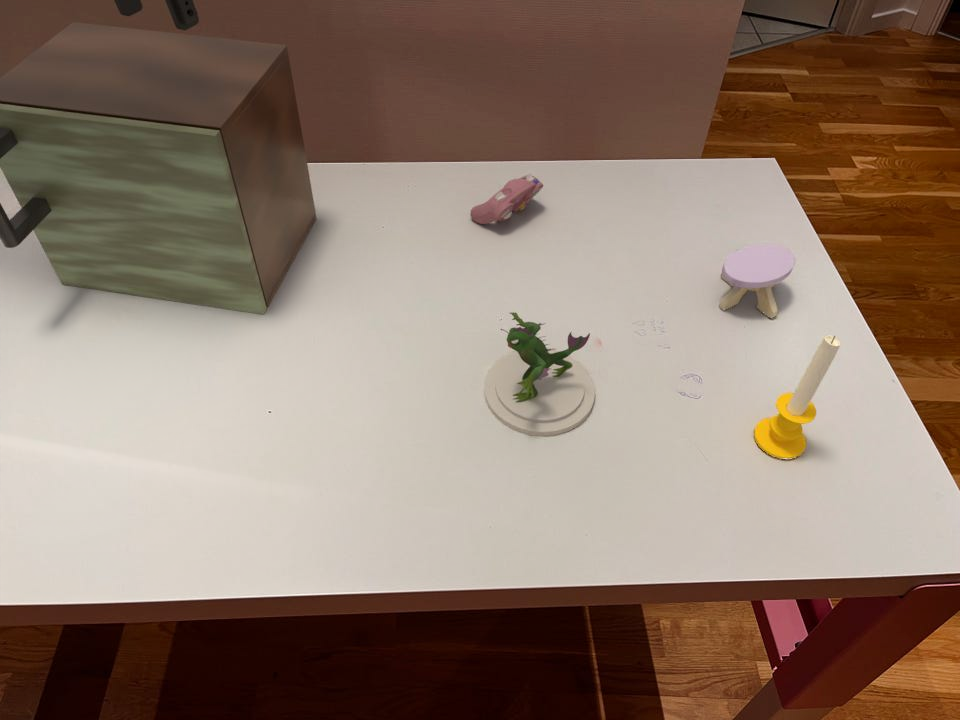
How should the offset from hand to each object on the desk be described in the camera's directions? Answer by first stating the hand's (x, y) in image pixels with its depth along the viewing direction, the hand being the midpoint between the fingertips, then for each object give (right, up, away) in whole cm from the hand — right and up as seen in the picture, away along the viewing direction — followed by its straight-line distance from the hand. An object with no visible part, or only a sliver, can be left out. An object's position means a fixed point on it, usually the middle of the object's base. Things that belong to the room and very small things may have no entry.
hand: (160, 19), depth 70 cm
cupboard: (-6, -18, +26) cm, 32 cm away
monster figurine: (+37, -36, +11) cm, 53 cm away
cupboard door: (-9, -27, +17) cm, 33 cm away
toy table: (+64, -25, +22) cm, 72 cm away
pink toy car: (+34, -12, +32) cm, 49 cm away
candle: (+62, -41, +7) cm, 74 cm away
